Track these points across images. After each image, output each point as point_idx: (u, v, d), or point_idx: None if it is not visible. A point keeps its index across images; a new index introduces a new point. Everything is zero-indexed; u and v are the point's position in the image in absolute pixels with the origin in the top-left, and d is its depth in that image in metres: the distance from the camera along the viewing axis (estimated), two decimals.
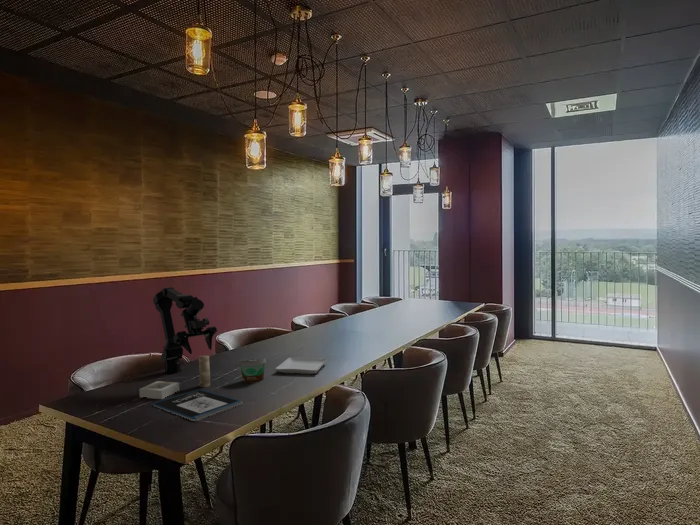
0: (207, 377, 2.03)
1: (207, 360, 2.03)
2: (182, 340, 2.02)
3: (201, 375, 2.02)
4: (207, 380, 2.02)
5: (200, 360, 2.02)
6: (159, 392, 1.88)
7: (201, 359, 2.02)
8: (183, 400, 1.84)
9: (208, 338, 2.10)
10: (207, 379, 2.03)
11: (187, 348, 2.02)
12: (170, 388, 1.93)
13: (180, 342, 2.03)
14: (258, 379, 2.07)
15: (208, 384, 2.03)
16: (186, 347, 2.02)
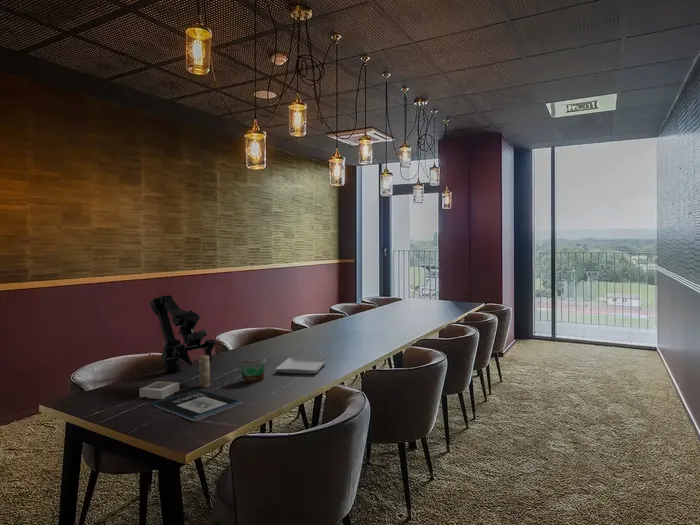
0: (207, 377, 2.03)
1: (207, 360, 2.03)
2: (181, 353, 2.03)
3: (201, 375, 2.02)
4: (207, 380, 2.02)
5: (200, 360, 2.02)
6: (159, 392, 1.88)
7: (201, 359, 2.02)
8: (183, 400, 1.84)
9: (207, 350, 2.11)
10: (207, 379, 2.03)
11: (187, 360, 2.03)
12: (170, 388, 1.93)
13: (180, 356, 2.04)
14: (258, 379, 2.07)
15: (208, 384, 2.03)
16: (186, 360, 2.03)
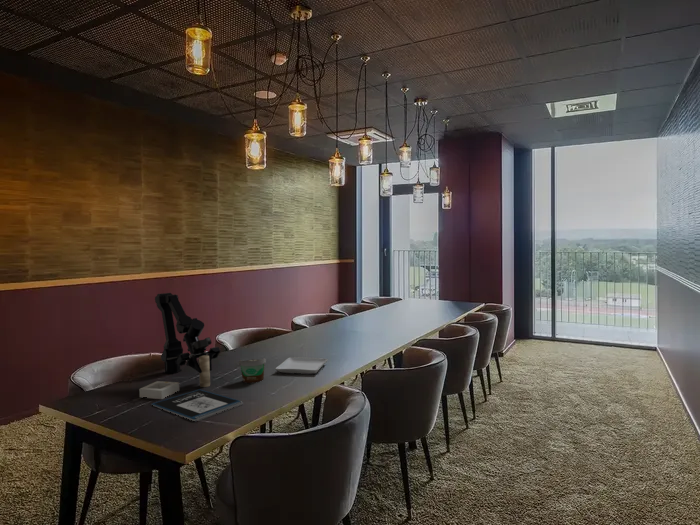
0: (207, 377, 2.03)
1: (207, 360, 2.03)
2: (191, 360, 2.02)
3: (201, 375, 2.02)
4: (207, 380, 2.02)
5: (200, 360, 2.02)
6: (159, 392, 1.88)
7: (201, 359, 2.02)
8: (183, 400, 1.84)
9: None
10: (207, 379, 2.03)
11: (196, 368, 2.02)
12: (170, 388, 1.93)
13: (189, 363, 2.03)
14: (258, 379, 2.07)
15: (208, 384, 2.03)
16: (195, 367, 2.02)
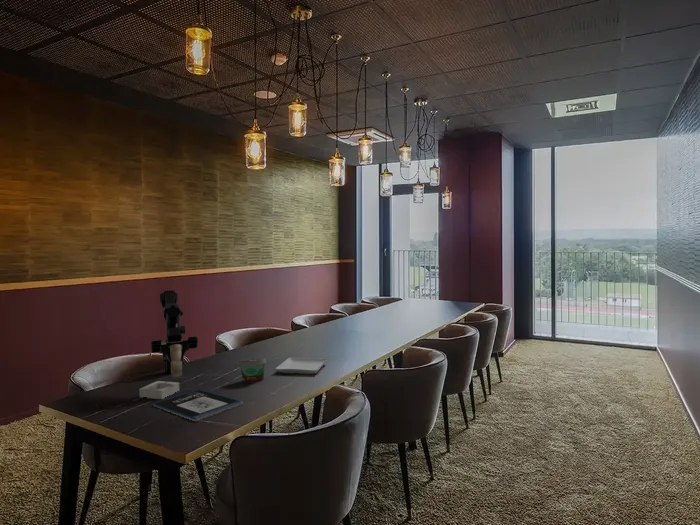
0: (177, 367, 1.95)
1: (177, 349, 1.94)
2: (163, 348, 1.97)
3: (171, 364, 1.95)
4: (176, 370, 1.94)
5: (170, 348, 1.95)
6: (159, 392, 1.88)
7: (171, 348, 1.94)
8: (183, 400, 1.84)
9: (182, 348, 1.99)
10: (177, 369, 1.95)
11: (167, 356, 1.95)
12: (170, 388, 1.93)
13: (162, 351, 1.98)
14: (258, 379, 2.07)
15: (178, 374, 1.95)
16: (166, 355, 1.96)
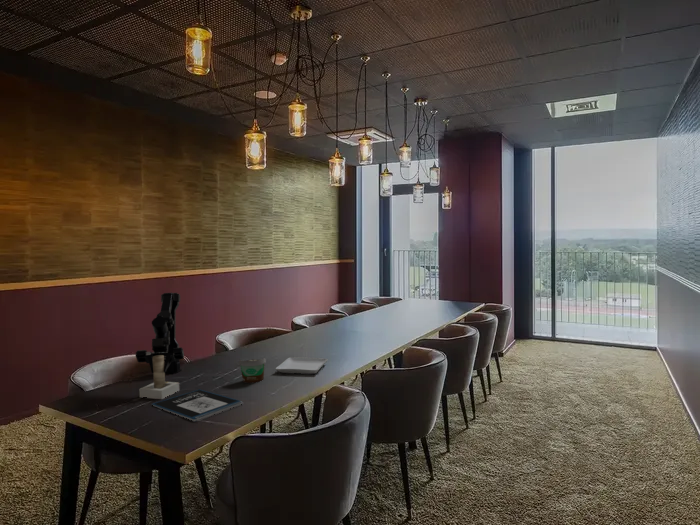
0: (158, 378, 1.92)
1: (158, 360, 1.92)
2: (147, 358, 1.95)
3: (153, 375, 1.93)
4: (158, 381, 1.92)
5: None
6: (159, 392, 1.88)
7: (153, 359, 1.92)
8: (183, 400, 1.84)
9: None
10: (158, 380, 1.92)
11: None
12: (170, 388, 1.93)
13: (148, 361, 1.97)
14: (258, 379, 2.07)
15: (160, 386, 1.92)
16: (150, 366, 1.94)
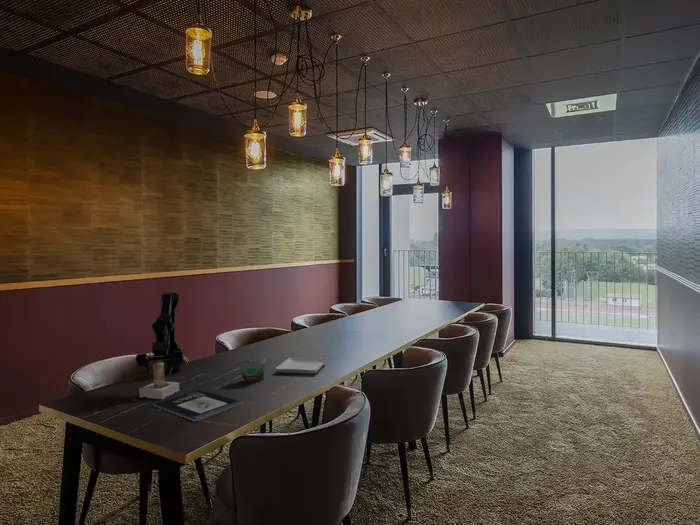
0: (159, 385, 1.92)
1: (158, 367, 1.92)
2: (144, 362, 1.95)
3: (154, 382, 1.93)
4: (158, 388, 1.92)
5: (153, 366, 1.93)
6: (159, 392, 1.88)
7: (153, 366, 1.92)
8: (183, 400, 1.84)
9: None
10: (159, 387, 1.92)
11: None
12: (170, 388, 1.93)
13: (144, 365, 1.97)
14: (258, 379, 2.07)
15: None
16: None
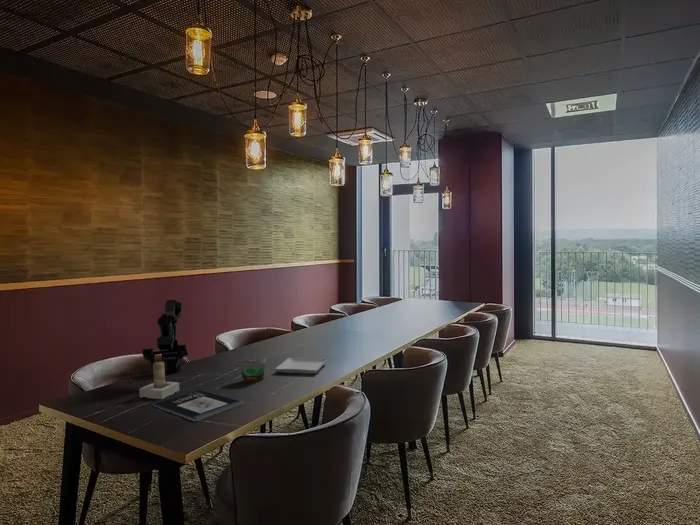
0: (159, 385, 1.92)
1: (159, 368, 1.92)
2: (148, 357, 2.05)
3: (154, 382, 1.93)
4: (158, 388, 1.92)
5: (153, 367, 1.93)
6: (159, 392, 1.88)
7: (153, 366, 1.92)
8: (184, 400, 1.84)
9: None
10: (159, 387, 1.92)
11: None
12: (170, 388, 1.93)
13: (149, 359, 2.07)
14: (258, 379, 2.07)
15: None
16: None
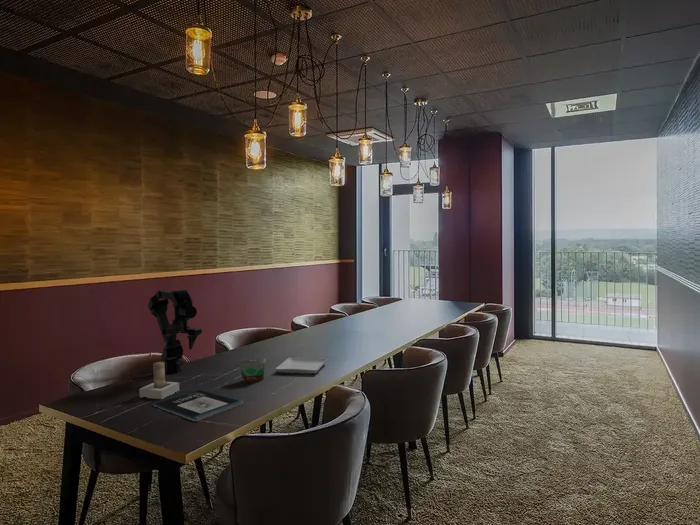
0: (159, 385, 1.92)
1: (159, 368, 1.92)
2: None
3: (154, 382, 1.93)
4: (158, 388, 1.92)
5: (153, 367, 1.93)
6: (159, 392, 1.88)
7: (153, 366, 1.92)
8: (184, 400, 1.84)
9: None
10: (159, 387, 1.92)
11: None
12: (170, 388, 1.93)
13: None
14: (258, 379, 2.07)
15: None
16: None
